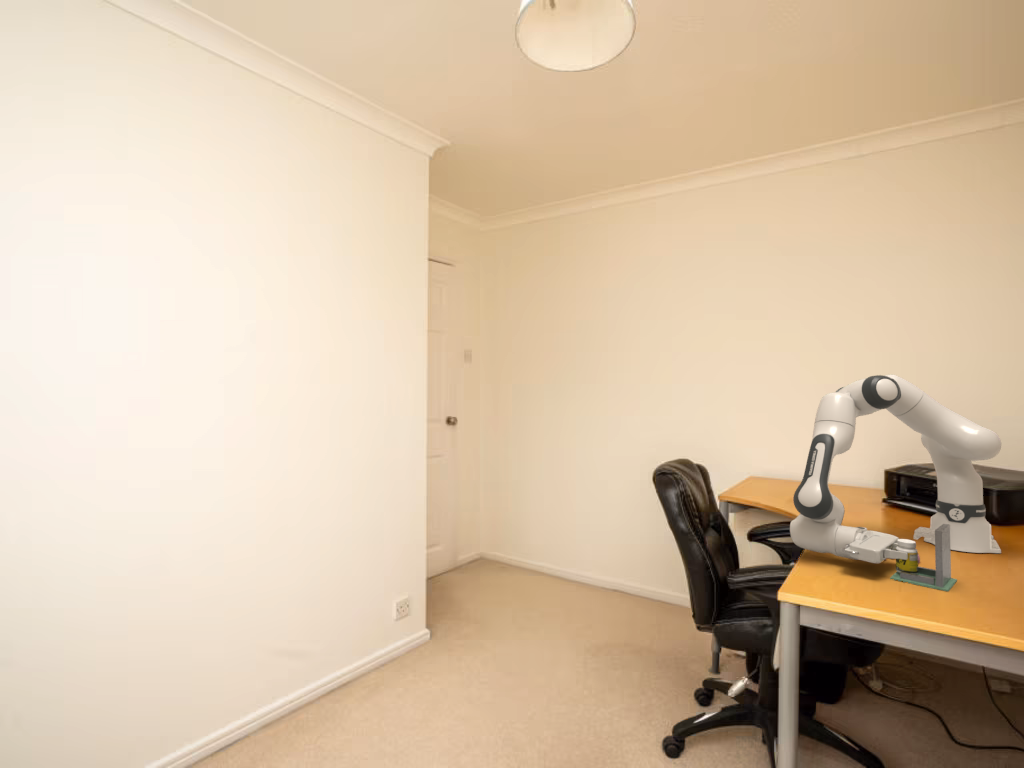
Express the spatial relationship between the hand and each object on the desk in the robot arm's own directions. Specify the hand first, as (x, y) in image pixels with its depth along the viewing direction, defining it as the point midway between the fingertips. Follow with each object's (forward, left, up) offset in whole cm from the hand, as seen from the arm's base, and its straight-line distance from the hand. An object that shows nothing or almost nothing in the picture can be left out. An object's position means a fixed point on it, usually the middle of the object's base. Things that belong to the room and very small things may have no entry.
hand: (910, 553), depth 142 cm
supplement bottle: (0, -1, -5) cm, 5 cm away
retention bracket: (0, +3, -6) cm, 7 cm away
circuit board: (0, +3, -6) cm, 7 cm away
